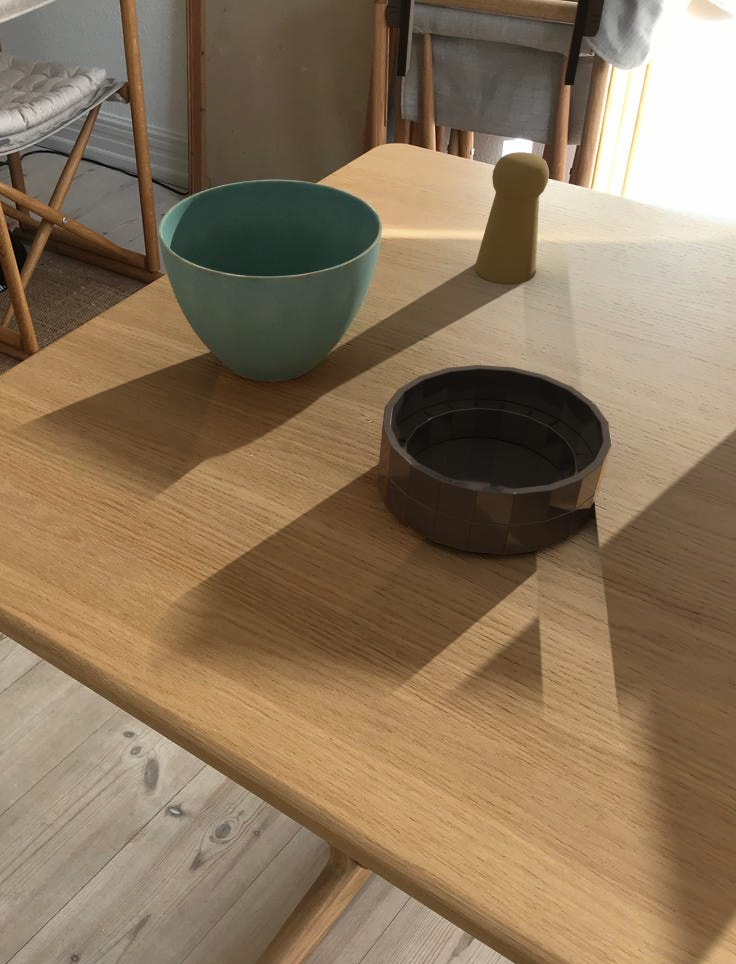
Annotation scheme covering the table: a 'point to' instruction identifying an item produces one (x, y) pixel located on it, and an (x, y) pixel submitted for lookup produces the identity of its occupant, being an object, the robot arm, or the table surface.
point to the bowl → (492, 458)
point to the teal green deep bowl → (270, 271)
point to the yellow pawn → (513, 219)
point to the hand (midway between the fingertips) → (484, 76)
